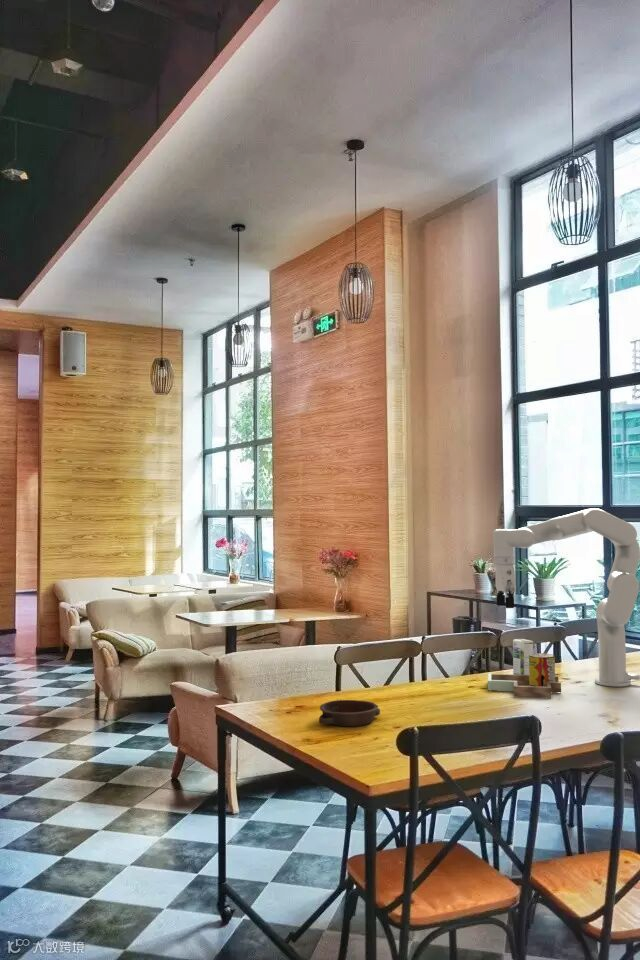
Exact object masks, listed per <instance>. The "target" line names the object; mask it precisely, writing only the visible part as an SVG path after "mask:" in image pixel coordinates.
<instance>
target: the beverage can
mask: <svg viewBox="0 0 640 960" xmlns="http://www.w3.org/2000/svg"><path fill="white" fill-rule="evenodd" d="M555 659H556V656H555V655H554V654H551V653H545V652H544V653H543V652H542V653H541V652H537V653H534V652H533V654H529V685H528V686H537V687H546V682H555V676H556V660H555Z"/></svg>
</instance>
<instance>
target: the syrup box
mask: <svg viewBox="0 0 640 960" xmlns="http://www.w3.org/2000/svg"><path fill="white" fill-rule="evenodd" d="M529 654H534V641H533V640H530V639H525V638H515V639H512V658H513V659H512V665H513V666H512V667H513V668H512V671H513V672H512V673H513V675H529Z"/></svg>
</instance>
